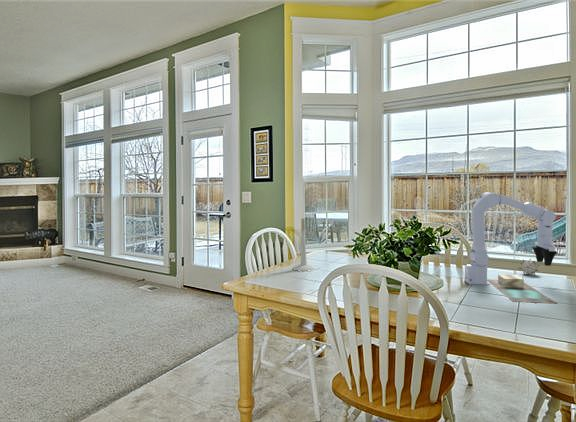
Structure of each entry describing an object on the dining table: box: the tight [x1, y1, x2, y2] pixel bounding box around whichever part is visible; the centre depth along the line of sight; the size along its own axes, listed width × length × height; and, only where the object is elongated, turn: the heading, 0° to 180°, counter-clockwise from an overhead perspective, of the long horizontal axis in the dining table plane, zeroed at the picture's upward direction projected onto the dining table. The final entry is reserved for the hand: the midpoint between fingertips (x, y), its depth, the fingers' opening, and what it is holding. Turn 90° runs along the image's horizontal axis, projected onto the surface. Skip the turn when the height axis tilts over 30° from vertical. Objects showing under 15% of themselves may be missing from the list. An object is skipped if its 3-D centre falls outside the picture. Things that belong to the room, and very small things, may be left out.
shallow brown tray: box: [487, 278, 558, 304], centre depth 162 cm, size 16×34×1 cm, turn 168°
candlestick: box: [292, 218, 316, 272], centre depth 210 cm, size 13×13×30 cm
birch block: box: [497, 273, 525, 288], centre depth 170 cm, size 8×8×4 cm
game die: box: [518, 258, 540, 276], centre depth 189 cm, size 9×8×10 cm
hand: (543, 263), depth 169 cm, fingers open, 7 cm apart
